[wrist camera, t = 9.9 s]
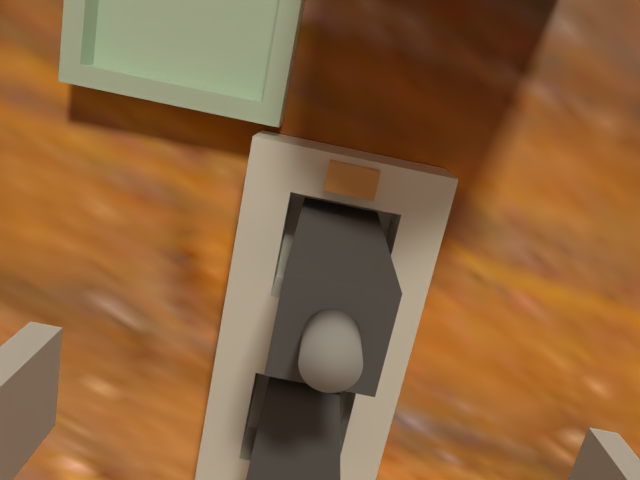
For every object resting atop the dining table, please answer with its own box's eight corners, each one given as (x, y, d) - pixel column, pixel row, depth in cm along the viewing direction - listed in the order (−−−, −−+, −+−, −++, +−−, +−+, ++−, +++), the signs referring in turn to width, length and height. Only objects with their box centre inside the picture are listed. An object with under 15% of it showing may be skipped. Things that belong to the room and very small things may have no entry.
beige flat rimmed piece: (207, 445, 35) (190, 493, 31) (262, 130, 30) (250, 137, 25) (362, 475, 35) (365, 527, 31) (444, 168, 30) (462, 182, 26)
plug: (291, 265, 31) (255, 407, 18) (304, 197, 30) (278, 291, 16) (360, 280, 31) (378, 431, 18) (377, 212, 30) (409, 318, 17)
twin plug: (261, 418, 34) (211, 641, 20) (273, 360, 33) (228, 556, 19) (325, 431, 34) (318, 661, 20) (339, 373, 33) (341, 577, 19)
